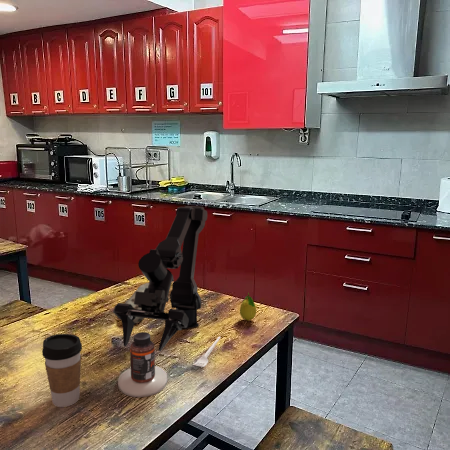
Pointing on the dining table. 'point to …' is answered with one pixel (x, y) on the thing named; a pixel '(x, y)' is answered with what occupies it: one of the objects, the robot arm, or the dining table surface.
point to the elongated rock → (131, 301)
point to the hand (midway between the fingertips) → (142, 348)
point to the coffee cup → (63, 367)
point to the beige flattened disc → (142, 384)
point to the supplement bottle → (142, 358)
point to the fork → (206, 355)
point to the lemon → (248, 308)
